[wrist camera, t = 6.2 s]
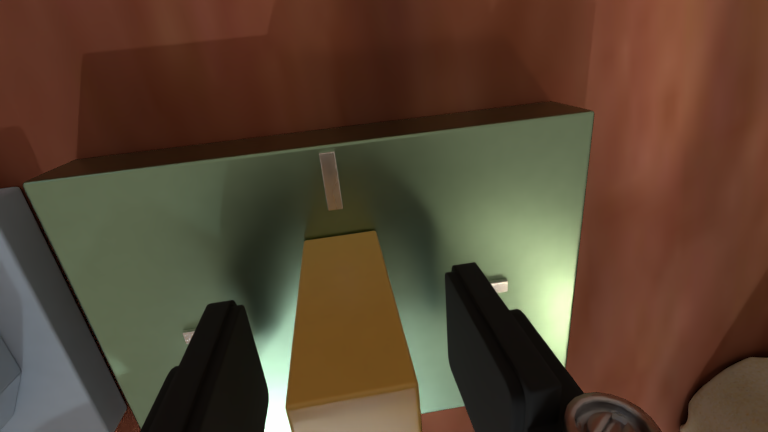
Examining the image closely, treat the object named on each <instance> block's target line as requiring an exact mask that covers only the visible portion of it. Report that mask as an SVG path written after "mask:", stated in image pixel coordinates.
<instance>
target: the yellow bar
mask: <svg viewBox="0 0 768 432" xmlns="http://www.w3.org/2000/svg"><path fill="white" fill-rule="evenodd" d="M285 409H286V413H287V417H288V421H289V424H290V428H291V432H422V423H421V410H420V398H419V385H418V381H417V377H416V373H415V370H414V366H413V363H412V359H411V355H410V352H409V348H408V345H407V341H406V337H405V334H404V330H403V327H402V323H401V319H400V316H399V312H398V309H397V305H396V301H395V298H394V294H393V291H392V287H391V283H390V280H389V276H388V272H387V269H386V265H385V262H384V258H383V254H382V251H381V247H380V244H379V240H378V236H377V233H376V231H368V232H361V233H354V234H347V235H340V236H333V237H326V238H320V239H313V240H306V241H304V245H303V254H302V263H301V271H300V280H299V289H298V298H297V307H296V316H295V324H294V333H293V342H292V351H291V360H290V369H289V377H288V386H287V395H286V404H285Z"/></svg>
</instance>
